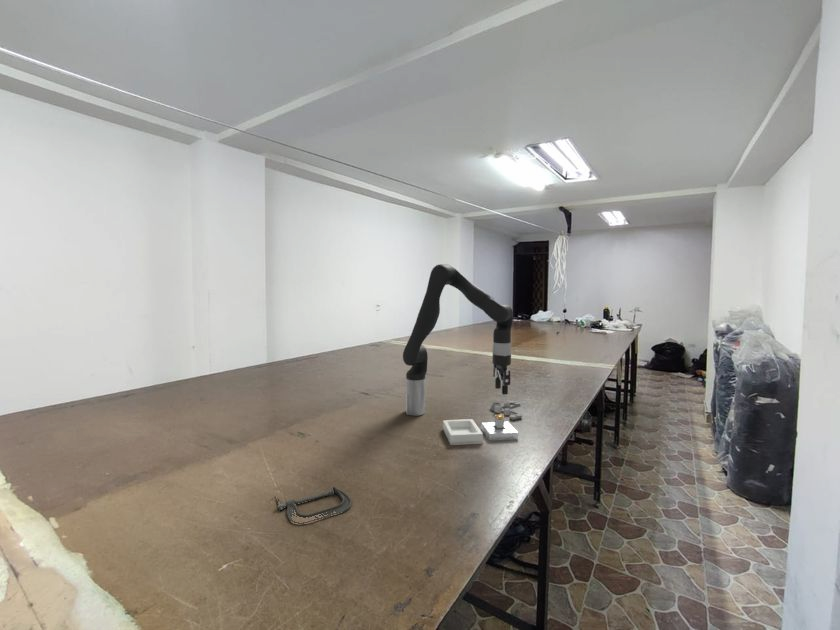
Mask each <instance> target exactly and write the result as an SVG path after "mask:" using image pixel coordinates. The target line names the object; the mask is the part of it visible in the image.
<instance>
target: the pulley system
mask: <svg viewBox="0 0 840 630" xmlns="http://www.w3.org/2000/svg"><path fill="white" fill-rule="evenodd" d="M511 405H512V406H511ZM520 406H521V402H519V401H518V402H517V401H514V400H509V401H504V402H503V406H502V403H501V402H496V401H495V402H491V404H490V410H491V412H492V411H493V412H494V413H497V414H499V413H501V414H503V416H509V419H510V420H511V421H515V420H518V419H522V418H523V415H522V413H518V412H515V411H513V410H511V409H513V408H518V407H520ZM513 414H514V415H513Z"/></svg>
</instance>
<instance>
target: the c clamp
mask: <svg viewBox="0 0 840 630" xmlns="http://www.w3.org/2000/svg"><path fill="white" fill-rule="evenodd" d="M329 494H330V495H332V496H333V495H335V496H338V497H339V498H341V499H340V500H341V502H340V503H339V504H337V505H334V506H331V507H330V506H329V507H327V508H324V509H322V510H319V511H315V512H311V513H308V514H307V513H306V514H302V513H301V512H300V511H299V508H298V505H295V504H298V503H302V502H305V501H309V500H313V499H316V500H318V499H317V498H320V497H324V498H326V497H325V496H327V497H329V496H330V495H329ZM336 494H337V495H336ZM328 495H329V496H328ZM320 499H321V498H320ZM313 501H314V500H313ZM309 502H310V501H309ZM278 503H279V504H278ZM278 503H277V510H278V509H280V510H282V509H283V508H284V507H287V508H286V516H287V515H288V516H287V519H288V518H289V519H288V521H289V520H290V521H292V522H294V523H298V524H304V523H308V522H311V521H315V520H319V519H322V518H326V517H329V516H331V515H334V514H338V513H341V512H344V513H346V512H348V511H349V510H350V509H351V507H352V504H353V503H352V499H351V497H350V496H349V495H348V494H347V493H346V492H344V491H342V490H341V489H337V487H336V486H335V485H334V486H332V487H331V488H330V490H329V491H324V492H320V493H317V494H313V495H310V496H307V497H302V498H298V499H295V500H294V498H293V499H290V500H286V501H285V503H281V502H278ZM305 503H306V502H305ZM348 509H349V510H348ZM280 510H279V511H280ZM283 510H284V509H283ZM283 510H282V511H283ZM292 510H293V511H292ZM294 510H295V512H296V515H297V516H299V517H303V518H306V517H308V518H309V517H312V516H315V515H318V514H321V515H322V516H323V517H321V518H318V517H316V516H315V518H317V519H314V520H311V521H308V522H303V523H299V522H295V521H293V520H292V518H291V517H292V515H293V516H295V515H294V514H295V513H294ZM334 511H335V512H336V513H333V512H334ZM345 511H346V512H345ZM326 512H327V513H326ZM292 513H294V514H292ZM322 513H323V514H324V515H327V514H328V515H327V516H324V515H323V514H322ZM331 513H332V514H331ZM321 515H319V516H321ZM297 516H296V517H297ZM290 521H289V522H290Z"/></svg>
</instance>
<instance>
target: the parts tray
mask: <svg viewBox="0 0 840 630" xmlns="http://www.w3.org/2000/svg"><path fill="white" fill-rule="evenodd" d="M442 430H443V432H444V434H445V436H446V439H447V440H448V442H449V444H450V446H458V445H460V446H461V445H479V444H480V445H481V444H484V441H483V440H484V432H483V431H482V430H481V428H480V427H479V426H478V425H477V424H476V422H475V420H474V419H473V418H470V419H469V418H468V419H467V418H463V419H447V420H444V419H443V420H442Z"/></svg>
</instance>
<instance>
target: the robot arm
mask: <svg viewBox="0 0 840 630" xmlns="http://www.w3.org/2000/svg"><path fill="white" fill-rule="evenodd" d="M447 285H449V286H451V287H453V288H455V289H456V290H459V292H461V294H463V296H464V297H465V298H466V299H467V300H468V302H470V303H472V305H475V306H476V307H477V308H478V309H480V310H481V311H483V312H484V313H485V314H486V315H487V316H488V317H489V318H490V319H491V320H493V321H495V322H496V325H495V328H494V330H493V336H492V337H493V343H492V364H493V368H492V369H493V375H492V377H493V378H494V381H495V382H494V383H495V385H494V387H495V389H496V390H497V389H498V390H499V389H501V395H504V396H505V395H508V393H509V391H508V390H509V389H508V388H509V386H510V385H511V370H510V369H508V366H511V363H512V345H511V343H512V342H511V336H512V333H511V330H512V327H513V321H514V311H513V309H512V307H511V306H510V305H508V304H500V303H499V302H497V301H496V300H495V298H494V297H493V296H492V295H490V294H489V293H487V292H485V291H484V290H483V289H482V288H480V287H478V286H477V285H475V284H474V283H472V282H471V281H470V280H469V279H467V278H466V277H465V276H464V275H463V274H462V273H461V272H460V271H459V270H457V269H456V268H455V267H454V266H453V265H452V264H448V263H443V264H436V265H435V266H434V267H433V268H432V269H431V271H430V274H429V279H428V283H427V287H426V291H425V294H424V297H423V300H422V303H421V306H420V309H419V312H418V314H417V317H416V320H415V322H414V326H413V328H412V331H411V334H410V337H409V339H408V340H407V343H406V345H405V346H404V349H403V353H402V359H403V362H404V364H405V365H406V366H409V367H410V366H411V367H410V369H409V370H407V372H406V374H405V375H406V376H405V377H406V378H405V381H406V385H405V413H406V415H407V416H416V417H417V416H421V415H422V416H423V415H424V414H426V374H427V371H428V351H427V348H426V347H425V346H424V345H423V342H424V341H425V340H426V339H427V337H428V336H429V335H430V334H431V332H432V331H433V330H434V328H435V327H436V324H437V322H438V320H439V316H440V314H441V313H440V312H441V311H440V310H441V307H440V301H441V296H442V293H443V290H444V288H445V286H447Z"/></svg>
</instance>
